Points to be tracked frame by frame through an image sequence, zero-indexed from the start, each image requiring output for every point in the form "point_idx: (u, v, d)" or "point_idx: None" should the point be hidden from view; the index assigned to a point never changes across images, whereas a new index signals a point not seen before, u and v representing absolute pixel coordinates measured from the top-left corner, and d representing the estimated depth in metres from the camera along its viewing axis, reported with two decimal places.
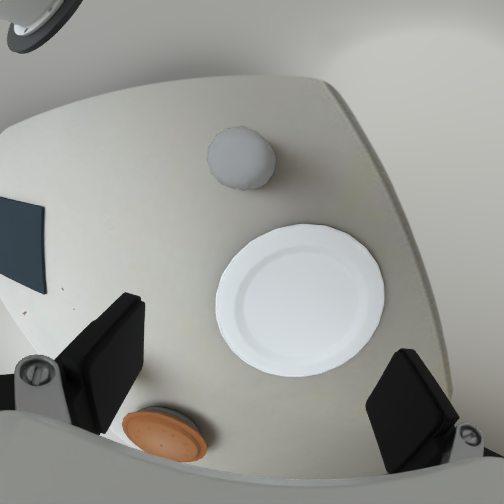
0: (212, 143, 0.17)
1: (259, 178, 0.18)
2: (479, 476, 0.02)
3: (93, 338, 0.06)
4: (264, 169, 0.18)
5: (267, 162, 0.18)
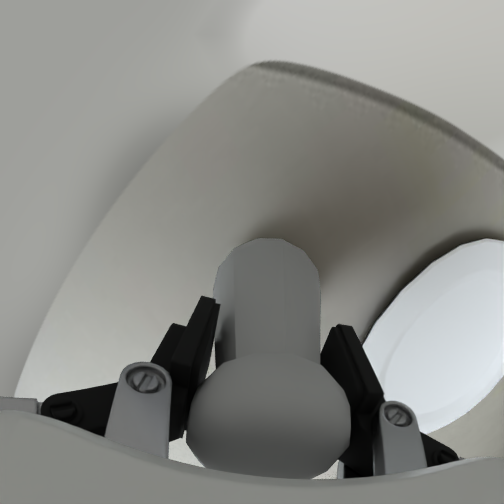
0: (197, 458, 0.06)
1: (348, 443, 0.06)
2: (479, 476, 0.02)
3: (193, 340, 0.07)
4: (347, 434, 0.05)
5: (343, 421, 0.05)
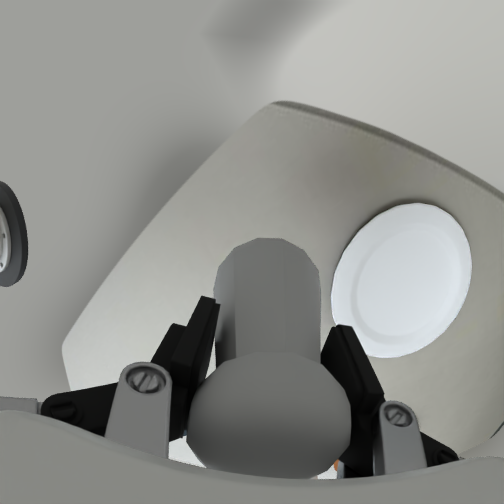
0: (197, 457, 0.06)
1: (348, 443, 0.06)
2: (479, 476, 0.02)
3: (193, 340, 0.07)
4: (347, 433, 0.05)
5: (343, 420, 0.05)
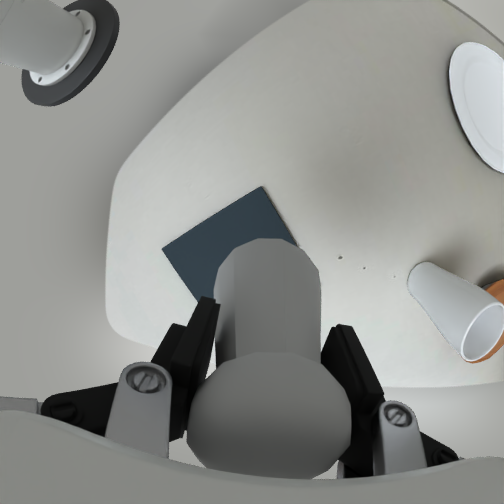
0: (198, 458, 0.06)
1: (348, 443, 0.06)
2: (479, 476, 0.02)
3: (193, 340, 0.07)
4: (348, 433, 0.05)
5: (343, 420, 0.05)
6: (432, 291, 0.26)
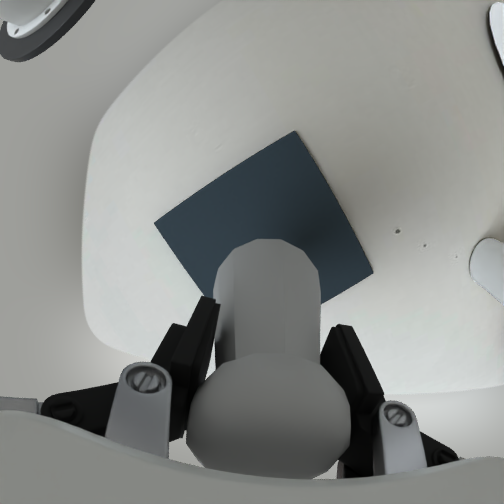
0: (197, 459, 0.06)
1: (348, 443, 0.06)
2: (479, 476, 0.02)
3: (193, 340, 0.07)
4: (347, 433, 0.05)
5: (343, 421, 0.05)
6: None
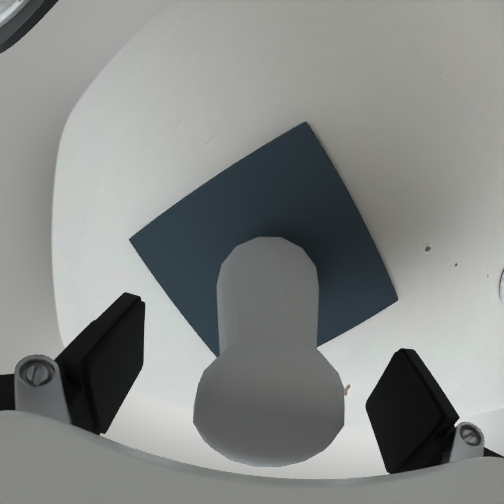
0: (203, 438, 0.07)
1: (343, 423, 0.06)
2: (479, 476, 0.02)
3: (93, 338, 0.06)
4: (341, 412, 0.06)
5: (337, 399, 0.06)
6: None
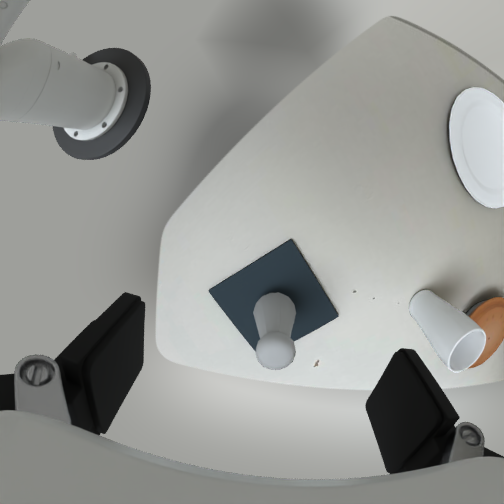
0: (258, 359, 0.29)
1: (294, 354, 0.29)
2: (479, 476, 0.02)
3: (93, 338, 0.06)
4: (293, 350, 0.28)
5: (291, 346, 0.28)
6: (428, 317, 0.33)
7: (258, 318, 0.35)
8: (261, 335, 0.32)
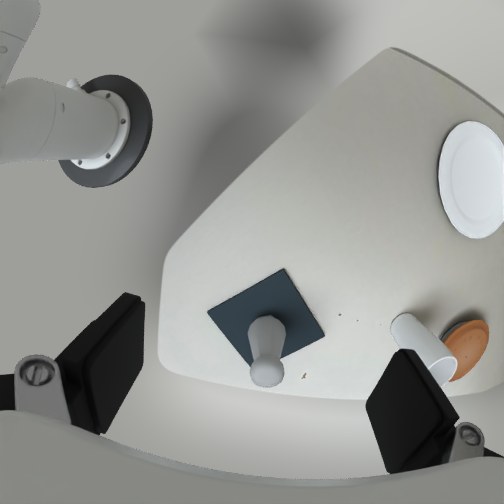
0: (252, 379, 0.33)
1: (283, 375, 0.33)
2: (479, 476, 0.02)
3: (93, 338, 0.06)
4: (282, 372, 0.32)
5: (280, 369, 0.32)
6: (405, 341, 0.37)
7: (252, 340, 0.39)
8: (254, 357, 0.36)
